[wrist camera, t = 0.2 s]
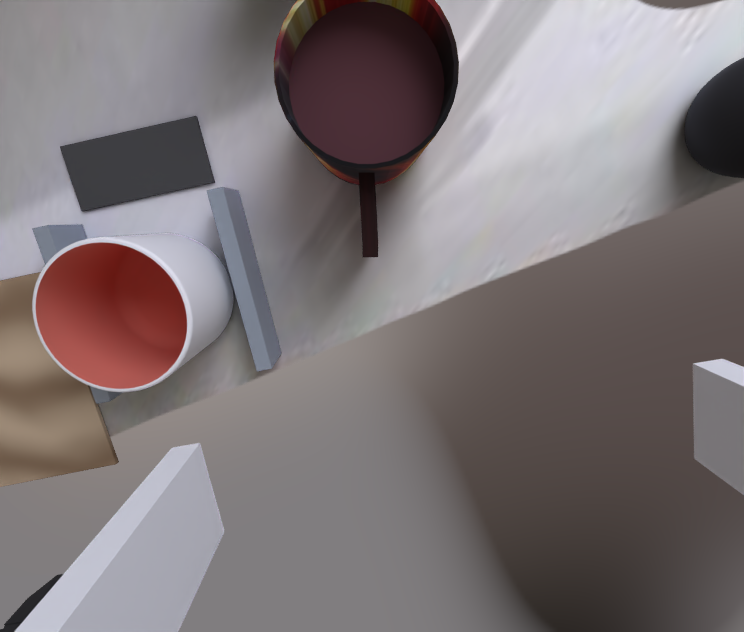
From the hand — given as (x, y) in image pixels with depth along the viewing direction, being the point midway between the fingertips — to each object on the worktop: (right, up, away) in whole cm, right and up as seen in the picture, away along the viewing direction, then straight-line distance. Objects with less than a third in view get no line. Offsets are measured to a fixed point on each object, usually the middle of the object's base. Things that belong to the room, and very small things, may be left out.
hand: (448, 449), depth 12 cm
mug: (-1, +17, +24) cm, 29 cm away
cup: (-18, +6, +26) cm, 32 cm away
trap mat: (-21, +16, +23) cm, 35 cm away
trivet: (-34, -3, +27) cm, 44 cm away
